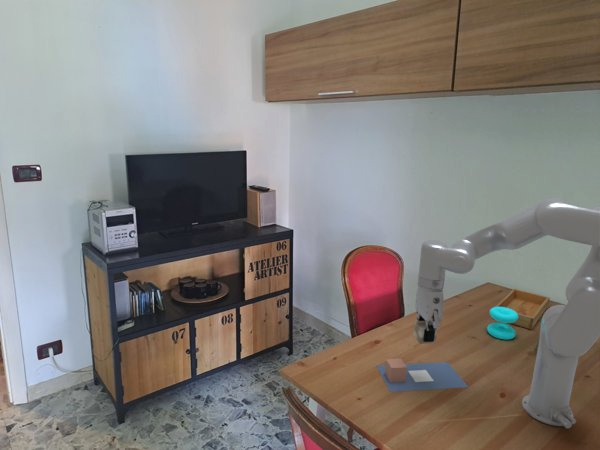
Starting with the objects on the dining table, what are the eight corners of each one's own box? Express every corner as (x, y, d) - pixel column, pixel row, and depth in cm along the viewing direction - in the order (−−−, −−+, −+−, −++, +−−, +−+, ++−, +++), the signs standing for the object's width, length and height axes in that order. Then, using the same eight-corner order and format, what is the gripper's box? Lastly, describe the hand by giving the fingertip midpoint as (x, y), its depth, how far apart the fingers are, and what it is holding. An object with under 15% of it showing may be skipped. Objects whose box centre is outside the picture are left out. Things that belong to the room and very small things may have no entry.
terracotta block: (405, 381, 130) (407, 367, 129) (390, 382, 130) (391, 368, 129) (399, 372, 135) (401, 358, 134) (384, 373, 135) (386, 359, 133)
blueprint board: (468, 389, 129) (468, 386, 128) (390, 393, 125) (390, 391, 125) (447, 363, 142) (447, 361, 142) (376, 367, 139) (376, 365, 139)
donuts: (489, 303, 167) (516, 307, 164) (485, 326, 170) (512, 331, 167) (491, 314, 158) (520, 318, 155) (487, 338, 161) (516, 343, 157)
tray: (512, 298, 200) (513, 287, 199) (548, 308, 190) (550, 296, 189) (491, 319, 177) (493, 307, 176) (531, 331, 168) (533, 318, 166)
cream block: (435, 343, 129) (437, 328, 127) (419, 343, 128) (421, 328, 127) (428, 335, 133) (430, 320, 132) (413, 335, 133) (415, 321, 132)
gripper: (456, 292, 118) (448, 350, 123) (430, 272, 135) (424, 323, 139) (431, 293, 117) (424, 351, 122) (408, 272, 134) (403, 324, 138)
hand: (424, 336), depth 130 cm, fingers closed on cream block, 4 cm apart
